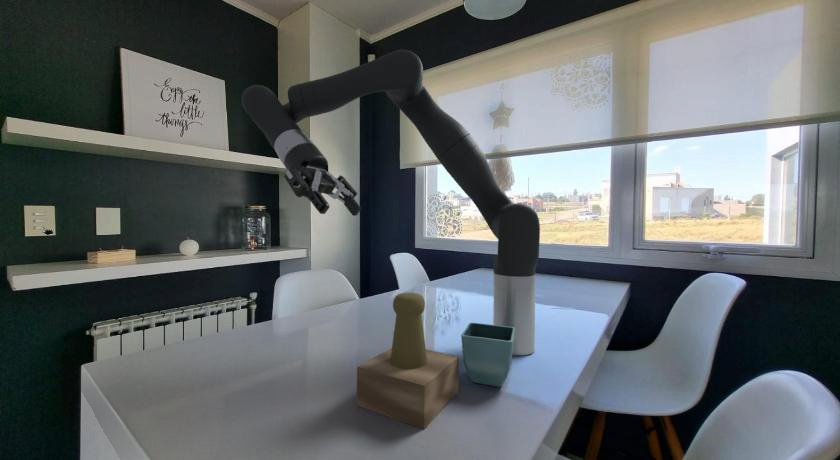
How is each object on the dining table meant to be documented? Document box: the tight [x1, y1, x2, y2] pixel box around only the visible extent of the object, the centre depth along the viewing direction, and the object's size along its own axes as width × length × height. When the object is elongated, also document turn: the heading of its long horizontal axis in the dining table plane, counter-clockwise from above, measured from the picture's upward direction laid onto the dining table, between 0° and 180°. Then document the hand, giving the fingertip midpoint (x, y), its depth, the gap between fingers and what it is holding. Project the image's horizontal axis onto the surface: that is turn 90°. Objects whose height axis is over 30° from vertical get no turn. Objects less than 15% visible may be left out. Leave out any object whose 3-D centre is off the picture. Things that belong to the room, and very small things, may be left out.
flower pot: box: [460, 322, 515, 388], centre depth 60 cm, size 9×9×9 cm
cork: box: [390, 292, 427, 369], centre depth 53 cm, size 6×6×11 cm
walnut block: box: [356, 347, 460, 430], centre depth 53 cm, size 12×12×6 cm
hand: (342, 211), depth 62 cm, fingers open, 8 cm apart
